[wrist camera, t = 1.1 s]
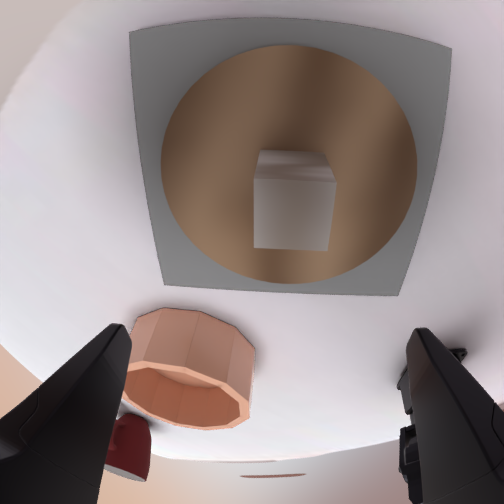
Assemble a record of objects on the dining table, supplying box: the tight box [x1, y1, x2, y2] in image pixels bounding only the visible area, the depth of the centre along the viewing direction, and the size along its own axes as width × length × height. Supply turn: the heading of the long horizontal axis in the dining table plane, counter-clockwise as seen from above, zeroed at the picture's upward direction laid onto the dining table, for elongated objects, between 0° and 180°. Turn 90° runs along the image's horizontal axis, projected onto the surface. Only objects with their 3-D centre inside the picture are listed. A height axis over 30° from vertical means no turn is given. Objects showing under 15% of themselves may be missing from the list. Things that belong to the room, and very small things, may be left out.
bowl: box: [122, 308, 255, 430], centre depth 26 cm, size 12×12×6 cm
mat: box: [129, 18, 452, 296], centre depth 17 cm, size 17×17×1 cm
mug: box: [104, 414, 151, 482], centre depth 37 cm, size 10×8×10 cm
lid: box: [161, 45, 417, 284], centre depth 14 cm, size 14×14×5 cm
